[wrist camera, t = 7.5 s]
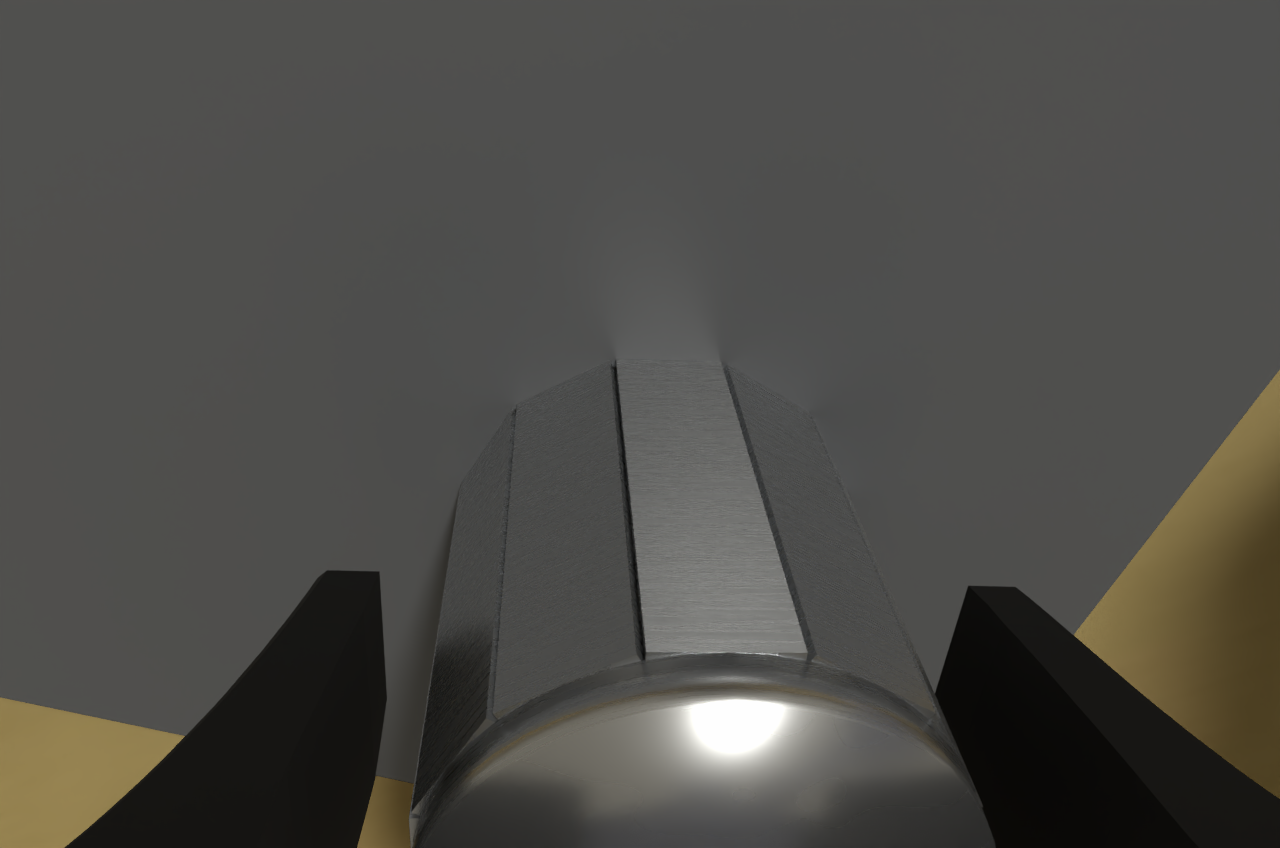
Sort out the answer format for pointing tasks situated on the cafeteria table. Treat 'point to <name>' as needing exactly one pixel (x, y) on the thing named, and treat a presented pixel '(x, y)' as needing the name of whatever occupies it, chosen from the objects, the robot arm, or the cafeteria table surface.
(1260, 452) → the cafeteria table surface
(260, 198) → the base board
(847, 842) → the cylinder
